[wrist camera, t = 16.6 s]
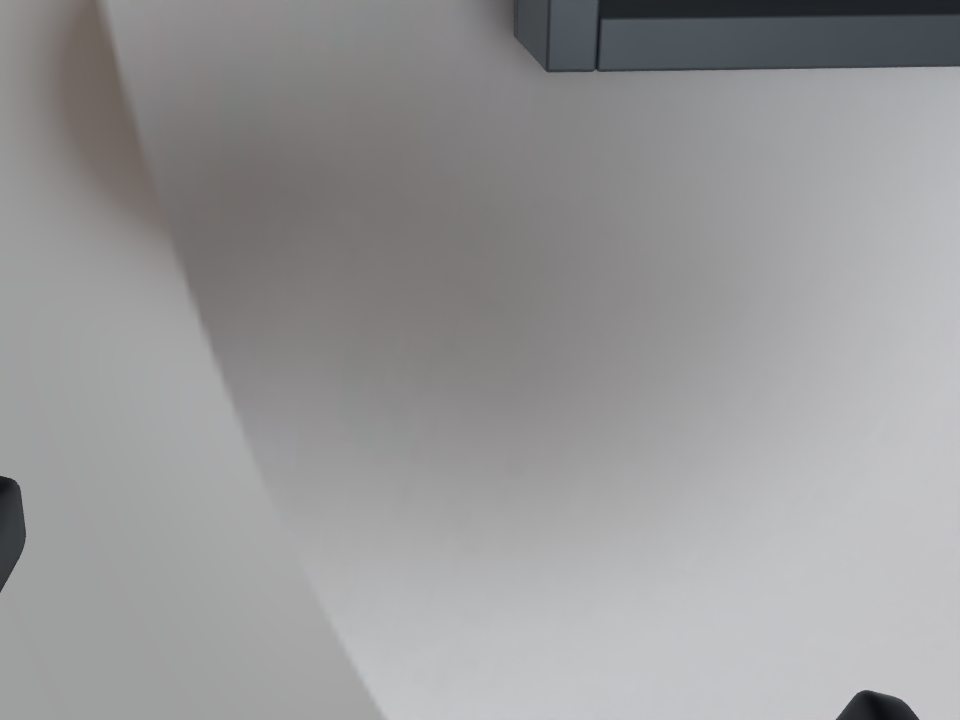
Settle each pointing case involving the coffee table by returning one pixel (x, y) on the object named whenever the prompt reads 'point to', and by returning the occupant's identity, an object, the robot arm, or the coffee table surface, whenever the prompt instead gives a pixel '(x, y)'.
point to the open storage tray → (737, 34)
